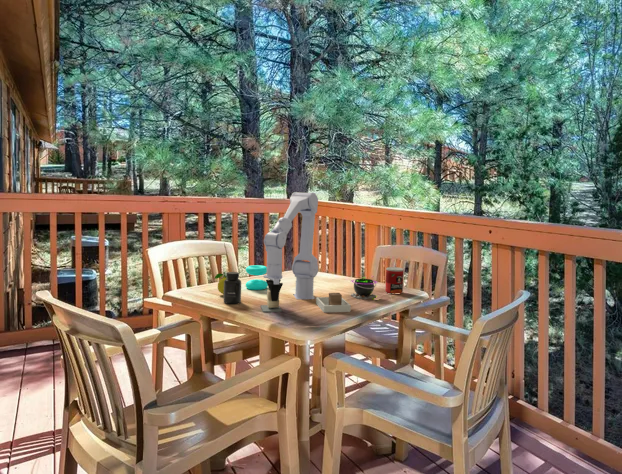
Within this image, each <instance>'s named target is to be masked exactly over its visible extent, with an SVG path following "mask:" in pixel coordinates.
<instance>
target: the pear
mask: <svg viewBox="0 0 622 474" xmlns="http://www.w3.org/2000/svg"><path fill="white" fill-rule="evenodd" d="M225 273H226V272H225V271H224V272H223V273H220V272H219V273H217V274H216V275H215V276H214V279H216V280H217V279H219V281H218V282H217V291H218V293H221V294H222V295H223V296H224V281H225V280H226V279H227V275H225Z"/></svg>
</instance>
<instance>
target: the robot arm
mask: <svg viewBox="0 0 622 474" xmlns="http://www.w3.org/2000/svg"><path fill="white" fill-rule="evenodd" d="M318 205H319V198H318V196H317V194H316V193H315V192H297V191H294V192H292V194H291V195H290V197H289V206H288V208H287V210H286V212H285V213H284V216H283V217H279V219H278V220H277V221H276V223H275V225H274V226H273V228H272V230H271V231H269V232H267V233H266V234H265V236H264V239H263V244H264V246H265V252H266V267H267V273H266V274H264V275H262V277H263V278H264V279H265V281H266V282H267V284H268V286H267V288H268V290H270V293H271V300H272V301H278V297H279V298H280V291H281V289H282V287H283V284H284V283H283V282H281V279H283V248H284V247H285V245H286V242H287V239H288V234H289V232H290V230H291V229H292V228H293V223H292V222H293V221H294V219H295V218H296V216H297V215H298V213H300V214H301V217H302V218H301V219H302V220H301V229H300V232H301V234H300V242H299V246H300V247H299V253H298V254H297V255H296V256H294V257H293V258H294V259H293V262H292V265H291V271H292V274H293V275H294V277H295V279H296V280H295V291H294V292H295V293H294V294H293V296H294V298H295V300H316V297H315V296H314V278H316V276H317V275H318V273H319V264H318V262H319V261H318V258H317V257H316V256H315V255H314V254H313V245H314V235H315V234H314V232H315V219H316V218H315V217H316V214H317V213H318V208H319V207H318Z"/></svg>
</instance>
